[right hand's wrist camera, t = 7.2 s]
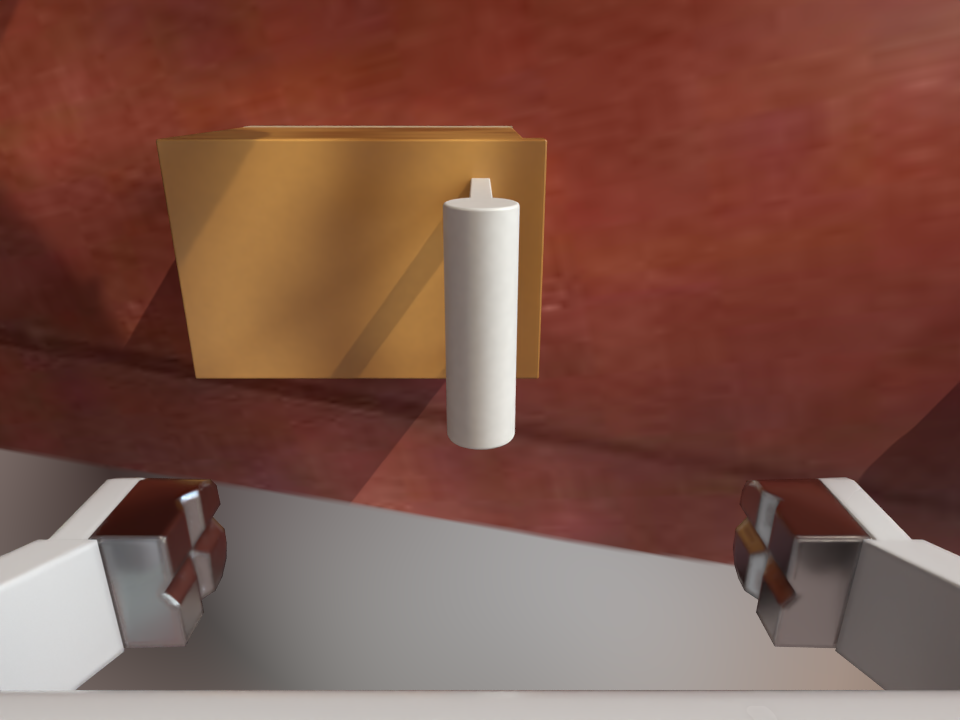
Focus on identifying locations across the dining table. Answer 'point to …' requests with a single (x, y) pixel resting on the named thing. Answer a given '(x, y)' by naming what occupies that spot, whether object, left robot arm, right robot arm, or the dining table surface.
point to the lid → (365, 263)
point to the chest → (362, 132)
